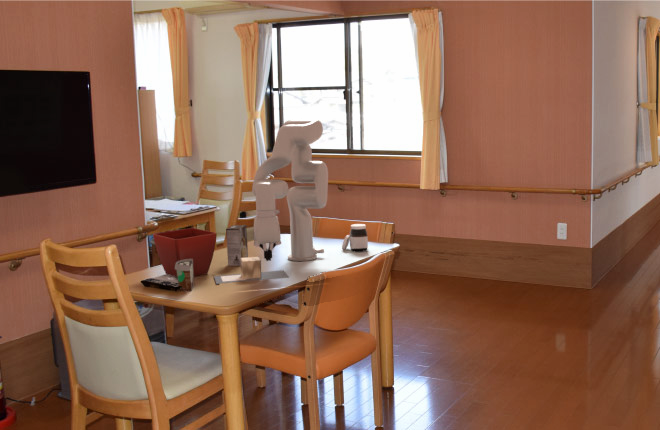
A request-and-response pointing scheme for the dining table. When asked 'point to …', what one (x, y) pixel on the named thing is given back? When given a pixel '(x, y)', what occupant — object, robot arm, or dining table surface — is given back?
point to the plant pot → (185, 249)
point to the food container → (185, 274)
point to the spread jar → (357, 238)
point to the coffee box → (236, 244)
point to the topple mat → (239, 279)
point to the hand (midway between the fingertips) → (268, 260)
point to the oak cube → (250, 267)
